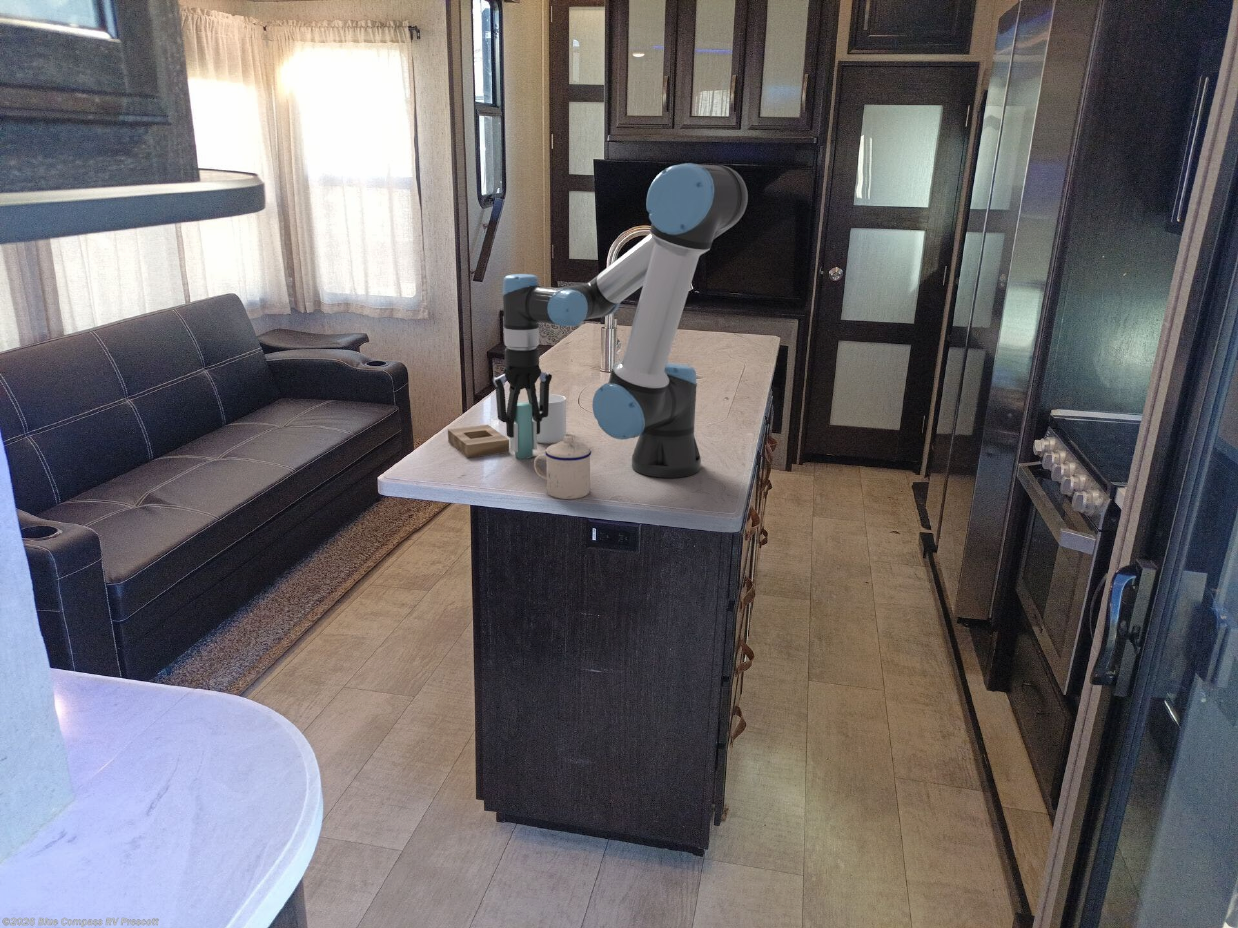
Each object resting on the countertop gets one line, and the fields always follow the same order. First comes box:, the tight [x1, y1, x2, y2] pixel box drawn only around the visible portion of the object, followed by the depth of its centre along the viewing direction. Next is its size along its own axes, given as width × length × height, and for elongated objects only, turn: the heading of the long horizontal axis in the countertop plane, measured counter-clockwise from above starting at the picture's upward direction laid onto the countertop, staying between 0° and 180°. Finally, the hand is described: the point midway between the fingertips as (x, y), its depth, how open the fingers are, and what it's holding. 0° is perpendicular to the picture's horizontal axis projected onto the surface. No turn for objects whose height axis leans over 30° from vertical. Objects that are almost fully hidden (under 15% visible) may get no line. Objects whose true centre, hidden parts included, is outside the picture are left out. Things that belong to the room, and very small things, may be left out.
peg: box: [514, 401, 534, 460], centre depth 197 cm, size 4×4×12 cm
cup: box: [532, 393, 567, 445], centre depth 212 cm, size 8×12×10 cm
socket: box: [447, 424, 510, 459], centre depth 204 cm, size 14×10×3 cm
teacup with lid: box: [533, 435, 592, 500], centre depth 175 cm, size 12×9×12 cm
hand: (523, 449), depth 198 cm, fingers closed on peg, 4 cm apart
